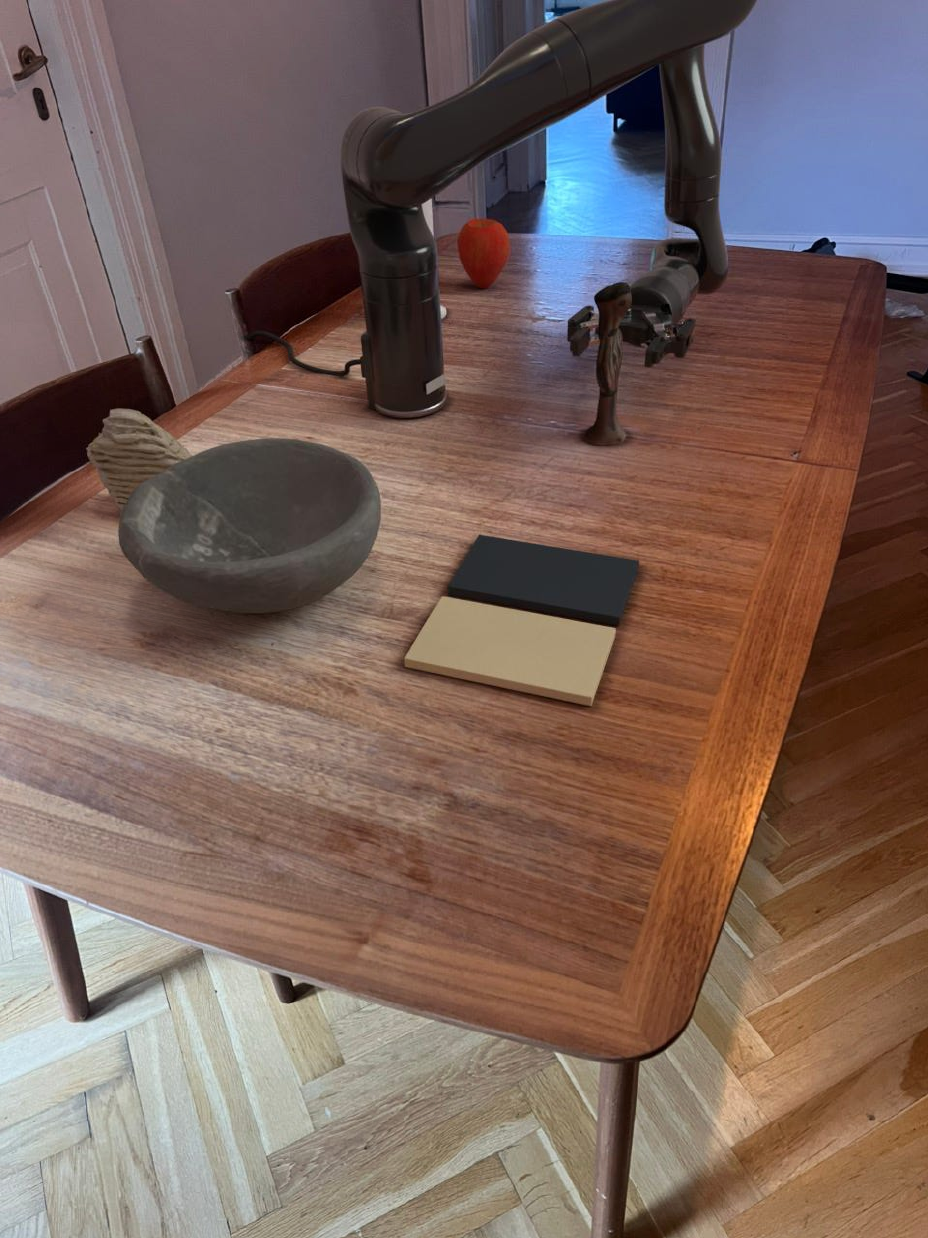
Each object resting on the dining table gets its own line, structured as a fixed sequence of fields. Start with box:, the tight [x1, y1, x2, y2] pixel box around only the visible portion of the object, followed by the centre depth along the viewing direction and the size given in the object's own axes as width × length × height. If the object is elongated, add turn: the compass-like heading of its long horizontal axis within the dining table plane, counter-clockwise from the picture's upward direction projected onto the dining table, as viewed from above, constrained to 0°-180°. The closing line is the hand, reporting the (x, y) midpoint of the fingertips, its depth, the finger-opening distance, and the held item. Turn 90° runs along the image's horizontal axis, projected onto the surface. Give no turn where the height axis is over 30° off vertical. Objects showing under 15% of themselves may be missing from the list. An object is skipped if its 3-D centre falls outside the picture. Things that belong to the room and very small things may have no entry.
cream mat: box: [403, 595, 617, 707], centre depth 75 cm, size 16×9×1 cm, turn 70°
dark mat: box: [447, 534, 640, 627], centre depth 83 cm, size 16×9×1 cm, turn 70°
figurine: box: [583, 281, 632, 446], centre depth 99 cm, size 7×5×18 cm
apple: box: [456, 218, 511, 290], centre depth 145 cm, size 9×8×11 cm
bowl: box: [117, 437, 382, 614], centre depth 82 cm, size 23×22×10 cm
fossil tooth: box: [85, 407, 193, 511], centre depth 93 cm, size 12×6×15 cm
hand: (611, 353), depth 99 cm, fingers open, 8 cm apart
